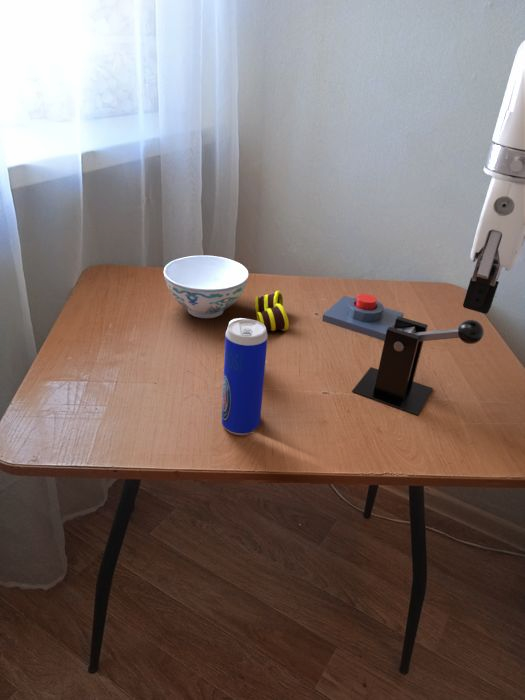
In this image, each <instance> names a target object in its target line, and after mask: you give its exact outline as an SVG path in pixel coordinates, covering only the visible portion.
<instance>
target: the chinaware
mask: <svg viewBox="0 0 525 700" xmlns="http://www.w3.org/2000/svg"><path fill="white" fill-rule="evenodd" d="M163 275H164V281H165V284H166V286H167V289H168V291H169V293H170V294H171V296H172V298H174V300H175V301H176V302H177V303H178V304H180V305H181V306H182V307H183V308H185V309H186V311H187V312H188V314H190V315H191V316H193V317H196V318H200V319H213V318H217V317H219V316H221V315H223V313H224V311H225V310H227V309H229V308H230V307H231V306H232V305H234V304H235V303H236V302H237V301H238V300H239V299H240V297H241V295H242V294H243V292H244V290H245V288H246V286H247V283H248V279H249V270H248V269H247V268H246V267H245V266H244V265H243V264H242V263H240V262H238V261H236V260H234V259H233V260H232V259H230V258H227V257H223V256H216V255H215V256H214V255H191V256H185V257H181V258H177V259H174V260H172V261H170V262H168V263H167V264H165V266H164V269H163Z"/></svg>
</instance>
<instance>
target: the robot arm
mask: <svg viewBox="0 0 525 700" xmlns="http://www.w3.org/2000/svg"><path fill="white" fill-rule="evenodd" d="M488 148H489V149H488V152H487V156H486V159H485V162H484V166H483V169H482V170H483V172H484V173H485V174H486V175H488V176H491V179H490V183H489V185H488V189H487V192H486V196H485V199H484V202H483V206H482V209H481V213H480V215H479V220H478V223H477V227H476V229H475V230H476V231H475V234H474V239H473V242H472V246H471V250H470V255H469V258H470V260H471V261H472V262H473V263H475V262H476V263H475V266H474V270H473V274H472V277H470V280H469V283H468V287H467V289H466V293H465V297H464V300H463V303H462V307H463V308H464V309H467V310H471V311H474V312H478V313H481V314H484V315H486V314H488V313H489V311H490V310H491V308H492V305H493V301H494V298H495V296H496V292H497V289H498V286H499V283H500V281H499V278H500V275H501V272H502V269H503V268H505V271H507V272H508V271H510V270H512V269H514V266H515V264H516V262H517V261H518V259H519V257H520V254H521V252H522V249H523V246H524V243H525V39H524V40H523V41H522V42H521V43H520V45H519V46H518V48H517V50H516V52H515V56H514V59H513V63H512V65H511V70H510V74H509V77H508V81H507V84H506V87H505V90H504V95H503V99H502V103H501V105H500V109H499V113H498V116H497V120H496V124H495V128H494V131H493V135H492V138H491V141H490V146H489V147H488Z"/></svg>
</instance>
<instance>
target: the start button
mask: <svg viewBox="0 0 525 700" xmlns="http://www.w3.org/2000/svg"><path fill="white" fill-rule="evenodd" d="M356 297H357V299H356V307H357V308H360V309H363V310H375V307H376V302H377V301H378V299H377V297H376V296H374V295H372V294H368V293H360V294H357V296H356Z"/></svg>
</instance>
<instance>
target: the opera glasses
mask: <svg viewBox="0 0 525 700" xmlns="http://www.w3.org/2000/svg"><path fill="white" fill-rule="evenodd" d="M283 298H284V297H283V294H282V292H281V291H280V290H276V291H275V292H274V293H272V294H269V293H267V294H265V295H261V296H255V298H254V301H255V302H254V303H255V304H254V306H255V308H254V309H255V313H256V321H258V322H260V323H262V324H263V325H264V326H265V327H266V331H267V332H268V331H271V332H275V331H276V330H281V331H282V332H286V331H288V330H289V326H290V322H289V318H288V314H287V312H286V309H285V308H284V299H283Z"/></svg>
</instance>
